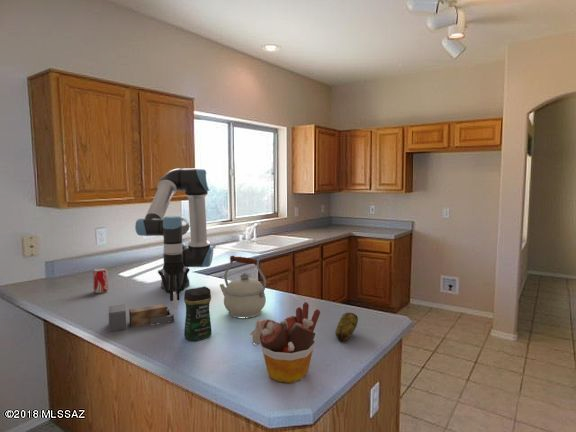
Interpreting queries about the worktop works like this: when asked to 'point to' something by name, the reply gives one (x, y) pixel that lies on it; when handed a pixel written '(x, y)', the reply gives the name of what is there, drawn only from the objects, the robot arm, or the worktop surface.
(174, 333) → the worktop surface
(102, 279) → the soda can
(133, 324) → the walnut rail
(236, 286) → the kettle
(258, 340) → the architectural model
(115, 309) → the roofed end cap
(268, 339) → the bucket of meat
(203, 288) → the coffee jar
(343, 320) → the potato
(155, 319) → the open end cap
